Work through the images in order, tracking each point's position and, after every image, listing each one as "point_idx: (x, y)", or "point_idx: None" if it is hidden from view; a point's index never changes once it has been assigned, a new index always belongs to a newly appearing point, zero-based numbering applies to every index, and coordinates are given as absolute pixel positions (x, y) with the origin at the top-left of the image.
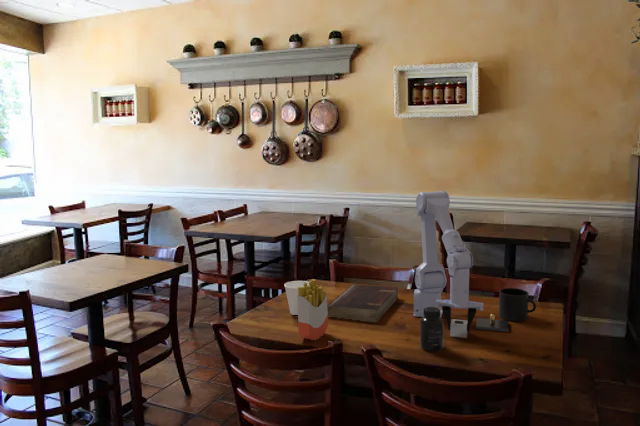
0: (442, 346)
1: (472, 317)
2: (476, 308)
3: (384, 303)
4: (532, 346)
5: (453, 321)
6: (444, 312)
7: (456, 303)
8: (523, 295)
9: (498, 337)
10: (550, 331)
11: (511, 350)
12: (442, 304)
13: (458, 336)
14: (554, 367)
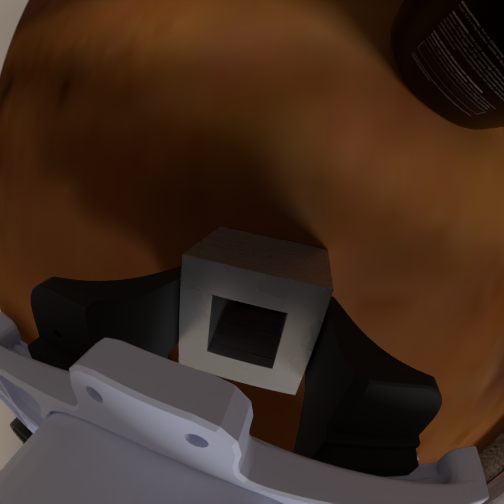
0: (397, 13)
1: (94, 284)
2: (29, 357)
3: (493, 472)
4: (11, 166)
5: (290, 352)
6: (418, 376)
7: (190, 497)
8: (11, 425)
9: (79, 245)
10: (3, 296)
11: (54, 99)
12: (433, 484)
13: (271, 238)
14: (16, 31)
